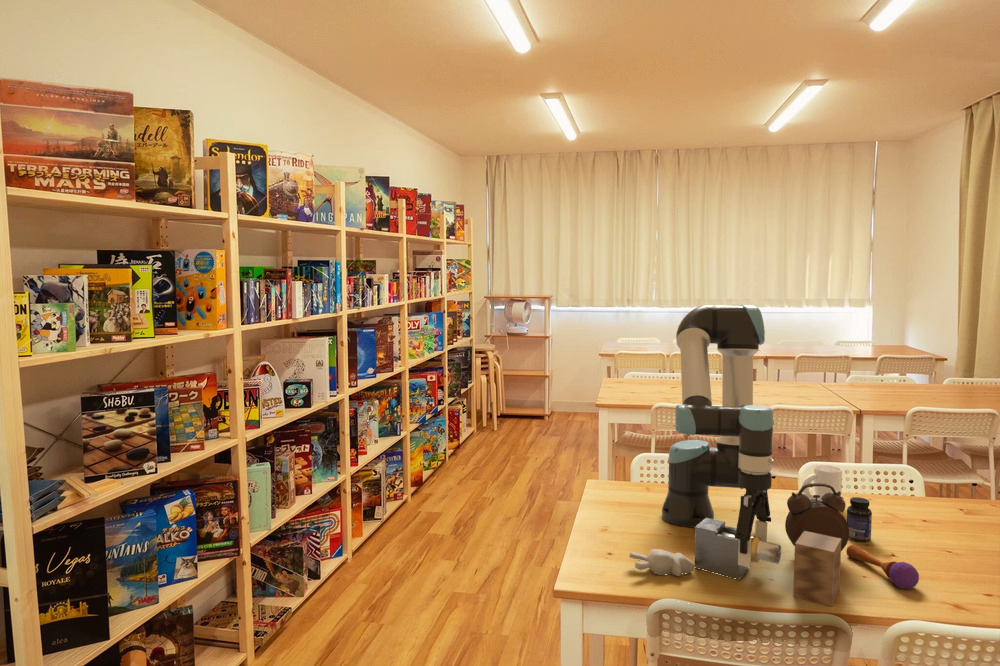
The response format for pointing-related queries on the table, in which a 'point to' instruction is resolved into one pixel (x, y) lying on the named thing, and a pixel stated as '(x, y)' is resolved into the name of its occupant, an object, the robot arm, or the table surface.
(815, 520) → the alarm clock
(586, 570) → the table surface
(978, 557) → the table surface
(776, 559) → the tube
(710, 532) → the square shaft housing
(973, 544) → the table surface
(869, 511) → the pill bottle
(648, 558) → the bunny figurine
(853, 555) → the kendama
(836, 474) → the mug
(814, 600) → the socket block
